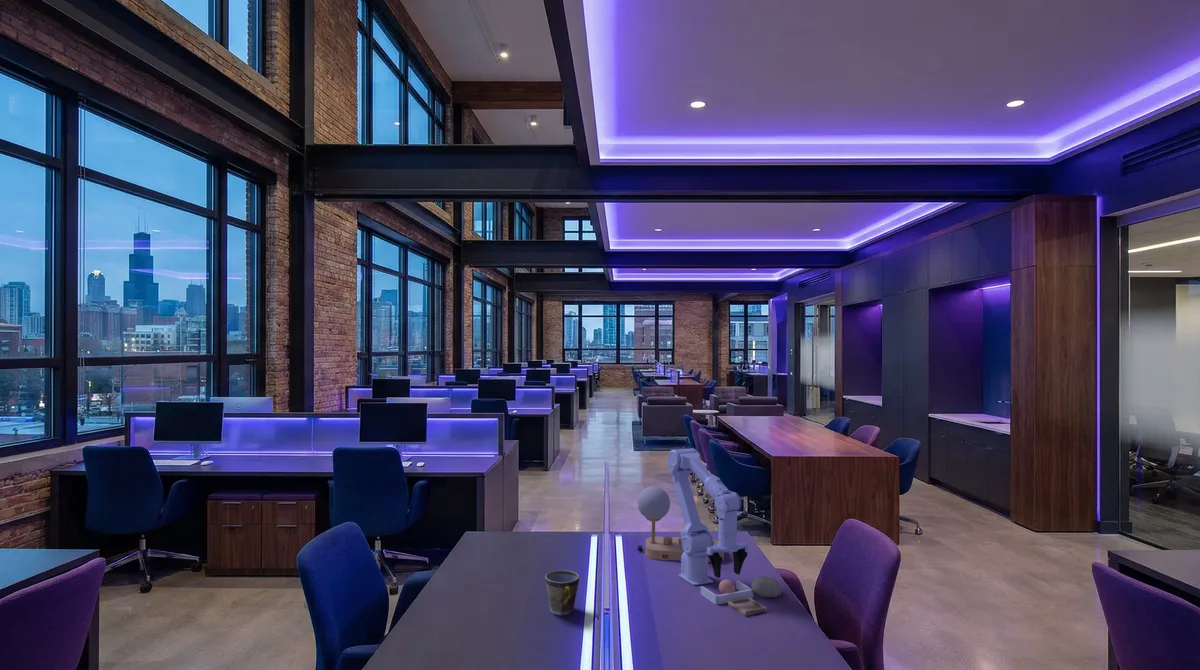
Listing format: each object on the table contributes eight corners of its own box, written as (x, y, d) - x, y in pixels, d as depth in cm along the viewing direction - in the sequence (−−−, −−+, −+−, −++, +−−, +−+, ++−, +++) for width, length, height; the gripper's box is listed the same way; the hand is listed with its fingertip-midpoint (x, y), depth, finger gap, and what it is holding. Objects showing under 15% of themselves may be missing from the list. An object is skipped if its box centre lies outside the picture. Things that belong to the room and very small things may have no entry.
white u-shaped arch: (700, 594, 186) (700, 586, 186) (737, 588, 192) (737, 580, 192) (716, 604, 179) (716, 596, 179) (753, 597, 184) (753, 589, 185)
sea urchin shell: (785, 595, 183) (767, 575, 184) (767, 611, 184) (748, 591, 185) (782, 584, 192) (765, 564, 193) (764, 599, 192) (747, 580, 194)
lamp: (720, 548, 232) (721, 484, 233) (725, 564, 215) (726, 494, 216) (636, 544, 235) (638, 481, 236) (635, 559, 218) (637, 490, 219)
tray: (727, 605, 178) (728, 601, 178) (749, 601, 182) (749, 597, 182) (744, 616, 171) (744, 611, 171) (766, 611, 174) (766, 607, 174)
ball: (715, 594, 187) (715, 578, 187) (728, 591, 189) (728, 576, 189) (725, 600, 182) (725, 583, 182) (738, 597, 184) (738, 581, 184)
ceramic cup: (540, 605, 175) (541, 572, 175) (572, 601, 179) (573, 568, 179) (552, 624, 163) (553, 588, 163) (586, 619, 166) (587, 584, 167)
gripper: (716, 537, 180) (715, 582, 179) (754, 532, 186) (753, 576, 185) (703, 531, 186) (702, 574, 185) (740, 526, 192) (739, 568, 191)
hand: (727, 575), depth 186 cm, fingers open, 7 cm apart
